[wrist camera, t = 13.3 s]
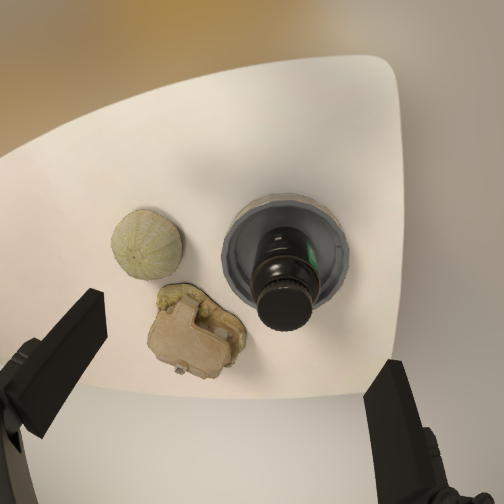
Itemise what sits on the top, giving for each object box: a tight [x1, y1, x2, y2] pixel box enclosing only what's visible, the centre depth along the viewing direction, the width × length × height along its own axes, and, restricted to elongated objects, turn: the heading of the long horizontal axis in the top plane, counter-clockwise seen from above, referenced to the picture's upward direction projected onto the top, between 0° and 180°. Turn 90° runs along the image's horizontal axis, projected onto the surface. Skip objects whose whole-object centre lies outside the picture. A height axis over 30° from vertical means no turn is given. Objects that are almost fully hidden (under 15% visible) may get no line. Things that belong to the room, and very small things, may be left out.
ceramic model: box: [147, 284, 246, 380], centre depth 39 cm, size 14×11×10 cm
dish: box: [221, 193, 349, 310], centre depth 36 cm, size 14×14×4 cm
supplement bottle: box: [250, 227, 321, 332], centre depth 32 cm, size 7×7×12 cm
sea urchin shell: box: [111, 210, 182, 281], centre depth 37 cm, size 9×8×8 cm
